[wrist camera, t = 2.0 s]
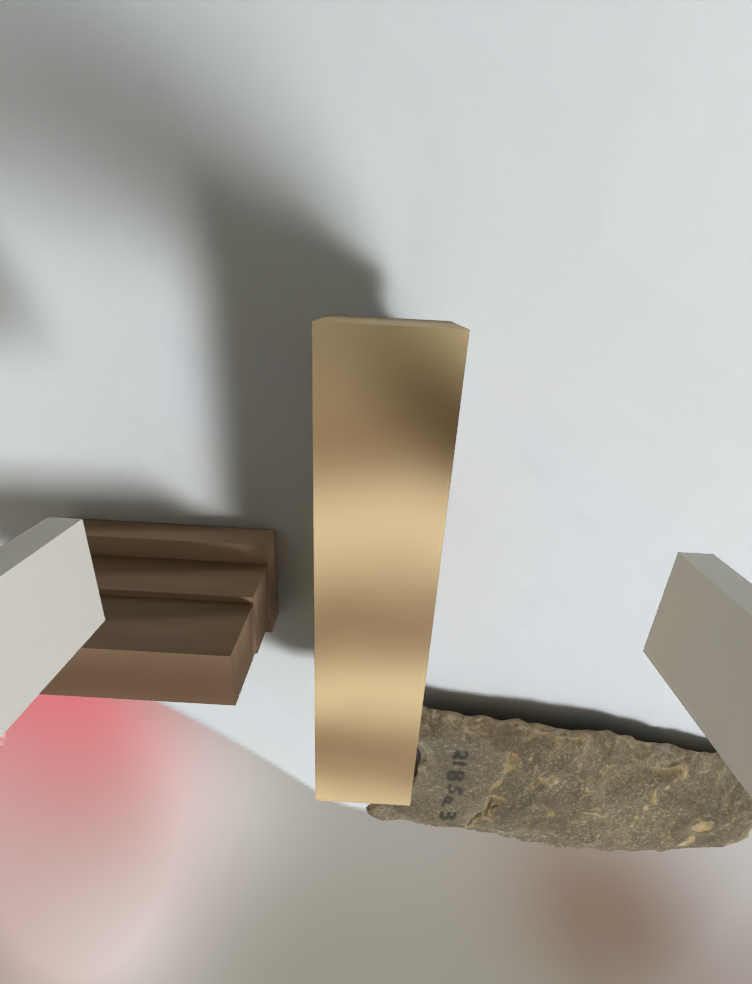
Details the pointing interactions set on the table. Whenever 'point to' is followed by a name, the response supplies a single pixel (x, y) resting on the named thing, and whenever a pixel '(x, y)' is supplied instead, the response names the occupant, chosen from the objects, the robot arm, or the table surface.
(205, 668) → the stepped block
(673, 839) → the stone tool
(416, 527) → the brass bar
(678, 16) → the table surface
